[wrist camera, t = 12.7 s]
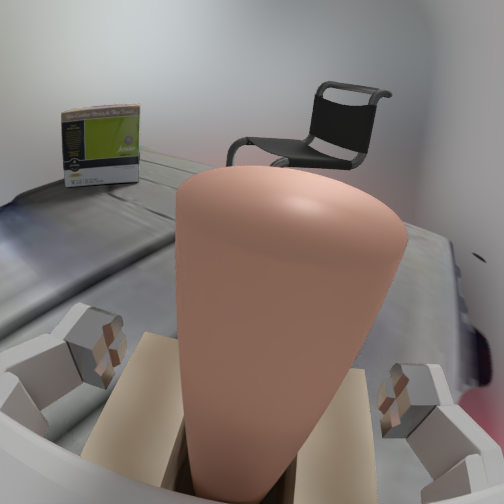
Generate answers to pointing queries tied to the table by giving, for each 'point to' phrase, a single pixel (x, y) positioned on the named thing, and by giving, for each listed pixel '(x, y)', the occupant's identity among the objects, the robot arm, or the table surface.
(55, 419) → the table surface
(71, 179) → the tea box
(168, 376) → the socket block
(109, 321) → the robot arm
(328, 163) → the chair
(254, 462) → the dowel
